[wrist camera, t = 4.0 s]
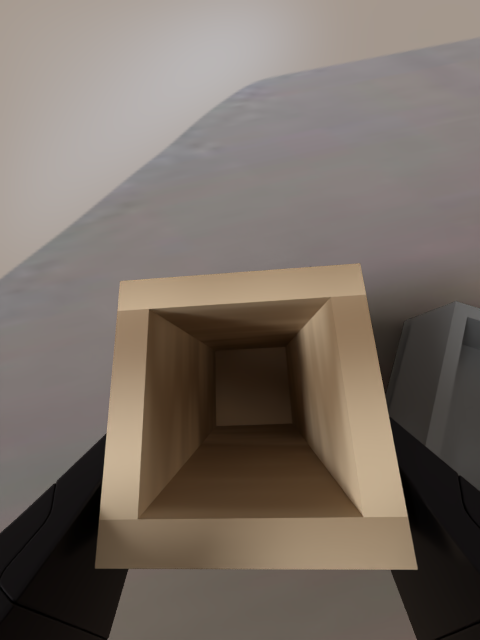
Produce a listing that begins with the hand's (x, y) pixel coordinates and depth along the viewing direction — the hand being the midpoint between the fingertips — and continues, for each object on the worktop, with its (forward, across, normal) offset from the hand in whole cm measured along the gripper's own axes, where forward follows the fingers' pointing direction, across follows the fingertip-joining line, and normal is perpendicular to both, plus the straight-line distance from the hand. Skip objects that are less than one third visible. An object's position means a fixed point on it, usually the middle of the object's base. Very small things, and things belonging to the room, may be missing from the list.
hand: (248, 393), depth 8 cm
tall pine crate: (+5, 0, +5) cm, 7 cm away
